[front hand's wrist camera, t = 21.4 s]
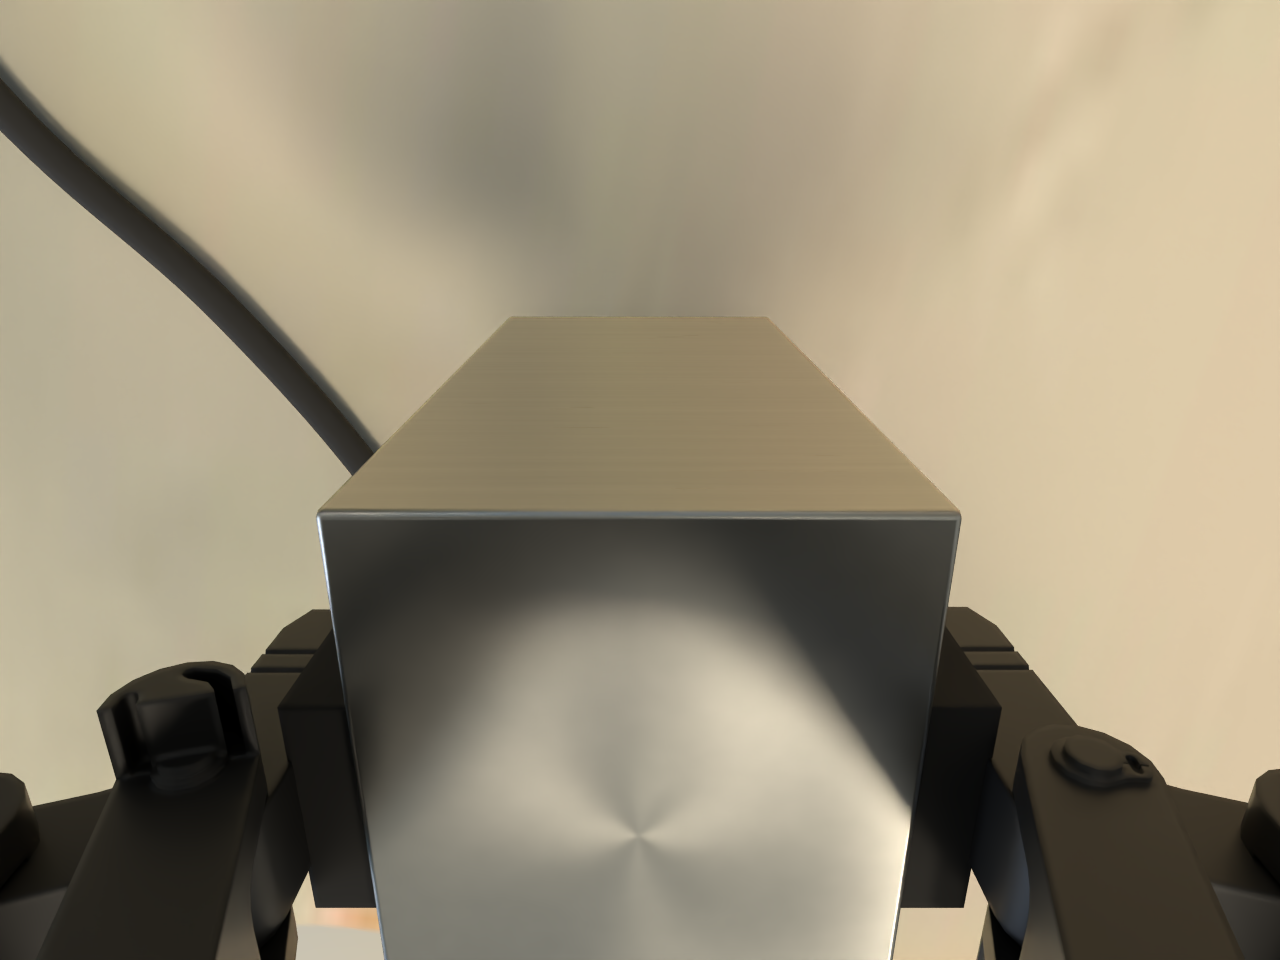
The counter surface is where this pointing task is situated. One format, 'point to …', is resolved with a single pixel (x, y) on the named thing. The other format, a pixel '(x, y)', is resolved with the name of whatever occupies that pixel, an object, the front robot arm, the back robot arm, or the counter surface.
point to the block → (638, 651)
